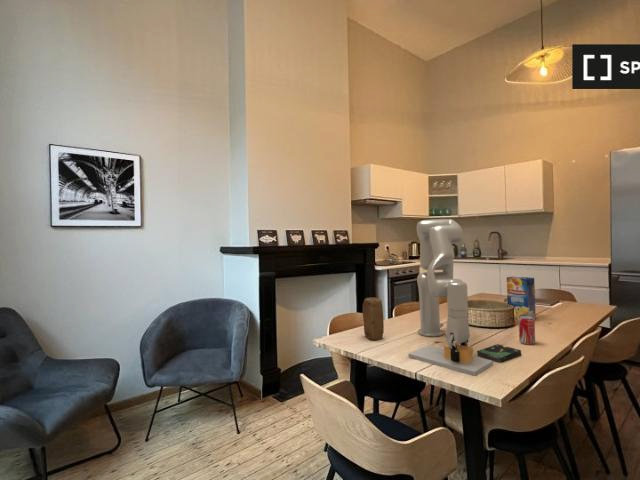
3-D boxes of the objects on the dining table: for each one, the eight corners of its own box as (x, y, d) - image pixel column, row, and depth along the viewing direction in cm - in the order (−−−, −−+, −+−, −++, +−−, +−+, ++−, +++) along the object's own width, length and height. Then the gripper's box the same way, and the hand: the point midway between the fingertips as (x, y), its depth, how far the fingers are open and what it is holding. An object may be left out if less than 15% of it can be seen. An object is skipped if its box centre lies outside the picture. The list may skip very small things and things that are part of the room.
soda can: (530, 346, 151) (529, 319, 151) (516, 342, 156) (515, 316, 156) (538, 343, 154) (537, 317, 154) (524, 340, 159) (523, 314, 159)
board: (428, 348, 153) (428, 345, 153) (492, 364, 131) (492, 360, 131) (408, 357, 143) (408, 353, 143) (474, 376, 122) (474, 371, 122)
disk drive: (497, 350, 149) (476, 357, 141) (497, 343, 149) (476, 350, 141) (521, 356, 140) (501, 364, 132) (521, 349, 140) (500, 357, 132)
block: (385, 339, 169) (383, 299, 169) (372, 341, 166) (370, 300, 166) (374, 334, 179) (373, 295, 179) (361, 335, 176) (360, 297, 176)
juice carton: (535, 319, 195) (534, 277, 195) (528, 321, 192) (527, 279, 192) (514, 315, 206) (513, 276, 206) (507, 317, 202) (506, 277, 202)
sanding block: (450, 355, 139) (449, 342, 139) (473, 360, 133) (472, 347, 133) (444, 358, 135) (444, 346, 135) (467, 364, 129) (467, 351, 129)
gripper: (459, 308, 142) (461, 351, 142) (437, 315, 131) (438, 362, 131) (477, 310, 136) (479, 355, 136) (455, 318, 125) (457, 367, 125)
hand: (459, 358), depth 134 cm, fingers closed on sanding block, 5 cm apart
